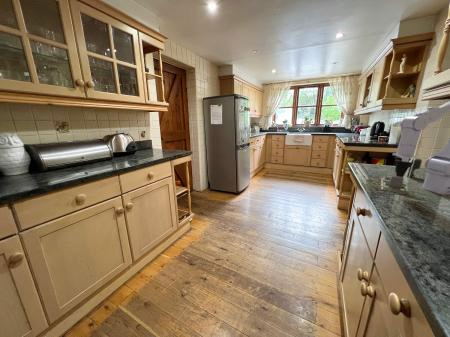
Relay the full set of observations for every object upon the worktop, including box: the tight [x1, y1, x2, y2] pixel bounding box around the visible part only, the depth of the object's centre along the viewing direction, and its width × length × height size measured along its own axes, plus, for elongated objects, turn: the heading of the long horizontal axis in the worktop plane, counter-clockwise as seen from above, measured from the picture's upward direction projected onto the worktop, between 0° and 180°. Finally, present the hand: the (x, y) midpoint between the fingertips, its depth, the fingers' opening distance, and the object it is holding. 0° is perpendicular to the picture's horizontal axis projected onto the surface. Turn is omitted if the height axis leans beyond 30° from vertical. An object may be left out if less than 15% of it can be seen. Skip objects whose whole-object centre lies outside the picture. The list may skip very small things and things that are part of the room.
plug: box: [388, 174, 405, 189], centre depth 87 cm, size 4×4×6 cm
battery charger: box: [406, 157, 423, 179], centre depth 106 cm, size 7×4×11 cm, turn 129°
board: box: [380, 176, 410, 196], centre depth 92 cm, size 21×10×2 cm, turn 141°
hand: (398, 174), depth 85 cm, fingers open, 7 cm apart
